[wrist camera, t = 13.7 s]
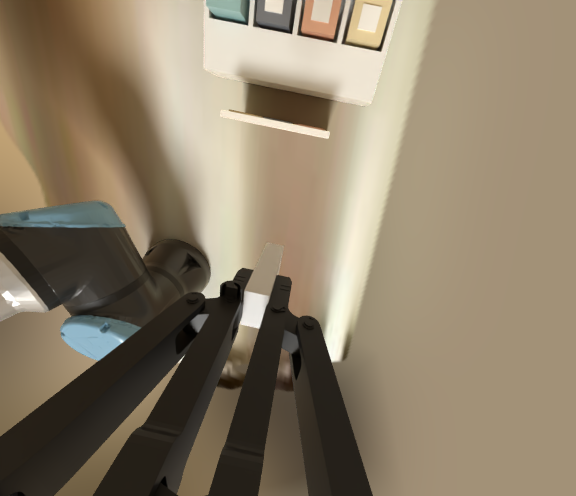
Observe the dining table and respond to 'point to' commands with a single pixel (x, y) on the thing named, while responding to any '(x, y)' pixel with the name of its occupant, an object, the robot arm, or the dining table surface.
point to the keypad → (297, 56)
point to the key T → (367, 23)
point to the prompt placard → (275, 123)
